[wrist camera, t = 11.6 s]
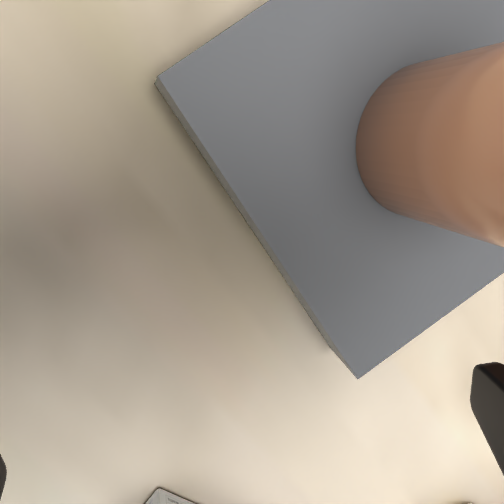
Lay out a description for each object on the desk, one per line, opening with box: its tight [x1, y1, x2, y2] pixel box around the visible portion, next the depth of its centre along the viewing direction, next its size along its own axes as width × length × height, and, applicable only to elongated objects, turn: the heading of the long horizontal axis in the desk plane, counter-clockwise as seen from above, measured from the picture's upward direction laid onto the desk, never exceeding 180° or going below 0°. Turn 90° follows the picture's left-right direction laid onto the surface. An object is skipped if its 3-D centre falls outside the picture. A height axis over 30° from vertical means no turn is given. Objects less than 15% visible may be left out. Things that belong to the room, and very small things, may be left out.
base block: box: [154, 0, 504, 379], centre depth 19 cm, size 15×15×3 cm
